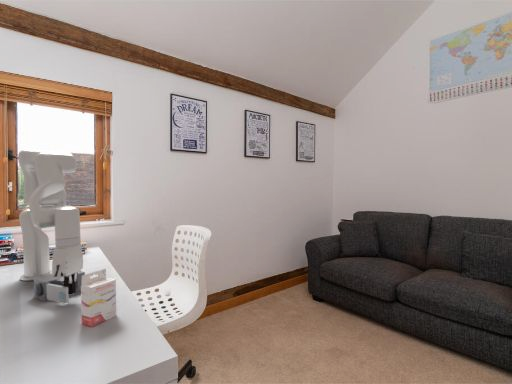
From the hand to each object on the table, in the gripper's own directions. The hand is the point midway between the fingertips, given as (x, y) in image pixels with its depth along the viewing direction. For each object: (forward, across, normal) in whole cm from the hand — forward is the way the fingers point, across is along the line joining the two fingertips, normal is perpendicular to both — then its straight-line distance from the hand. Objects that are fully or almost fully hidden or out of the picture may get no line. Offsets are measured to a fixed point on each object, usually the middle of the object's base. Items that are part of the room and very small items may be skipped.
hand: (70, 293), depth 104 cm
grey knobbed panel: (+3, -9, -10) cm, 14 cm away
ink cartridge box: (+3, +13, +19) cm, 23 cm away
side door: (+2, +2, -4) cm, 5 cm away
